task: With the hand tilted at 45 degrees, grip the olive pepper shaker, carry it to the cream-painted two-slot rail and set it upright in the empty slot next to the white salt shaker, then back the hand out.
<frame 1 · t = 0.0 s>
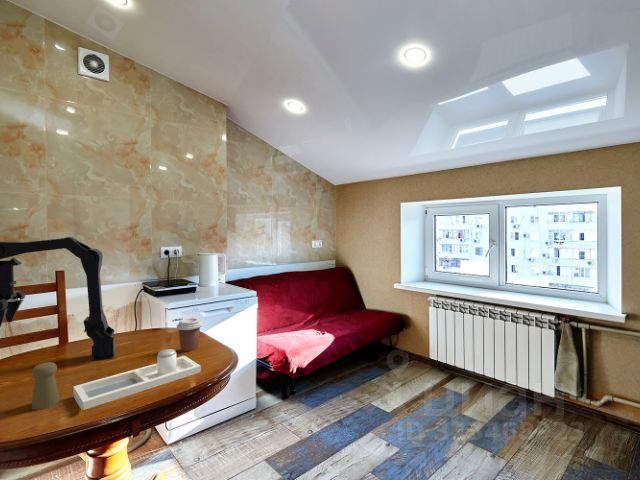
hand: (3, 325, 112), 15 cm above the table, tool pointing down, fingers open, 9 cm apart
olive pepper shaker: (45, 404, 92), on the table
salt shaker: (167, 374, 108), point 1 cm above the table, touching condiment rail
condiment rail: (141, 385, 103), on the table
coffee cup: (189, 351, 131), on the table
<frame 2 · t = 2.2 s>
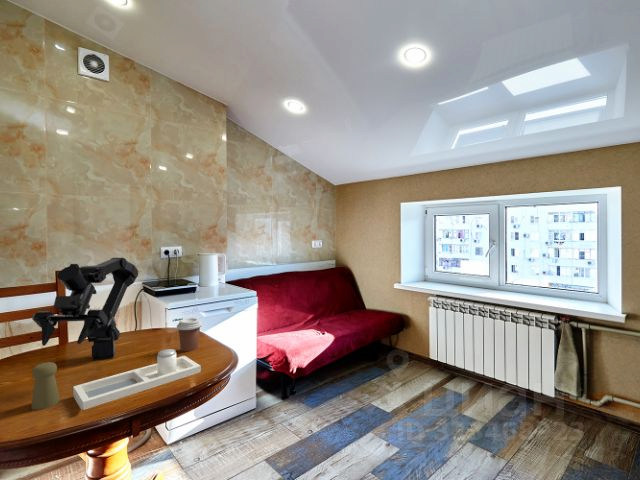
hand: (61, 344, 99), 13 cm above the table, tool tilted 45°, fingers open, 9 cm apart
nothing on the table moved.
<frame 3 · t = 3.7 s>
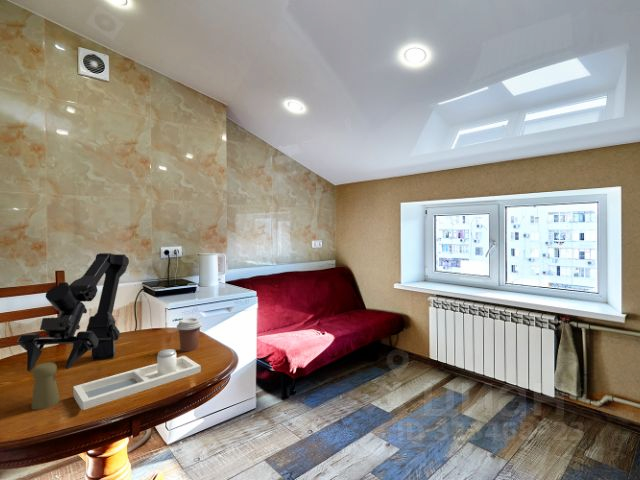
hand: (47, 369, 93), 9 cm above the table, tool tilted 45°, fingers open, 9 cm apart
nothing on the table moved.
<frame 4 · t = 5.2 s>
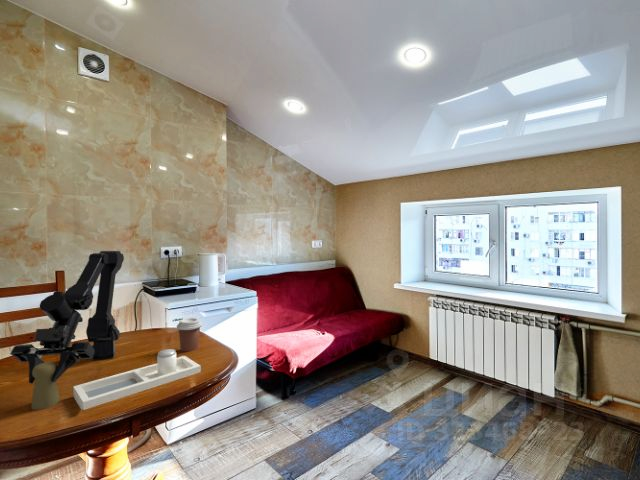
hand: (41, 382, 90), 7 cm above the table, tool tilted 45°, fingers closed on olive pepper shaker, 5 cm apart
olive pepper shaker: (45, 404, 92), on the table, touching gripper
everything else where it was.
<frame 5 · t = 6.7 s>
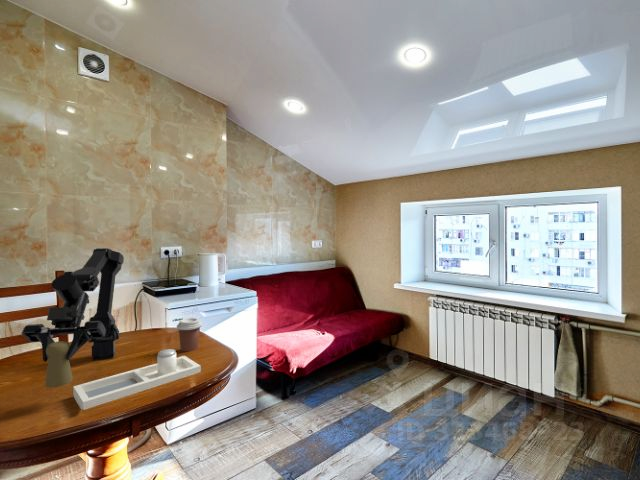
hand: (56, 360, 91), 12 cm above the table, tool tilted 45°, fingers closed on olive pepper shaker, 5 cm apart
olive pepper shaker: (59, 382, 92), point 5 cm above the table, touching gripper
everything else where it was.
when the fingers open (9 cm above the table, at t = 8.7 s): olive pepper shaker drops 1 cm, resting on condiment rail.
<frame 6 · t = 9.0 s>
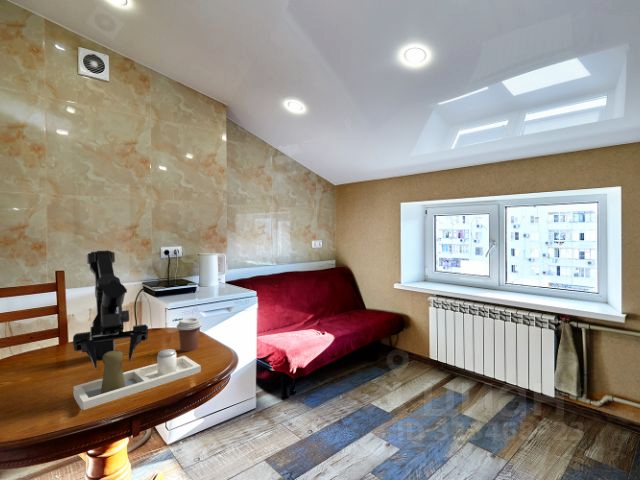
hand: (113, 364, 96), 9 cm above the table, tool tilted 45°, fingers open, 8 cm apart
olive pepper shaker: (113, 390, 98), point 1 cm above the table, touching condiment rail
everything else where it was.
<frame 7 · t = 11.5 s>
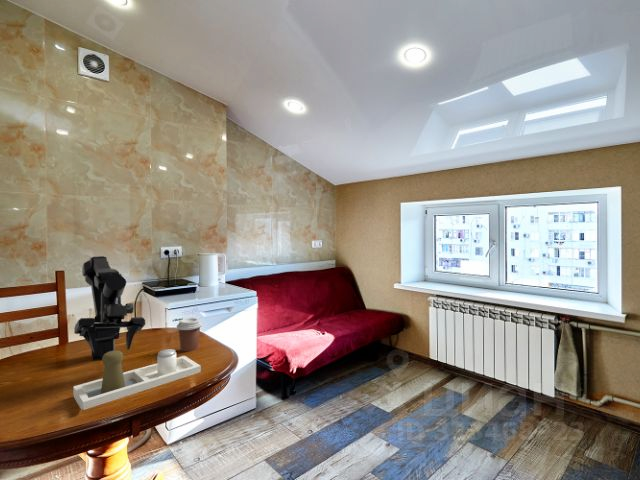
hand: (111, 351, 105), 10 cm above the table, tool tilted 40°, fingers open, 9 cm apart
nothing on the table moved.
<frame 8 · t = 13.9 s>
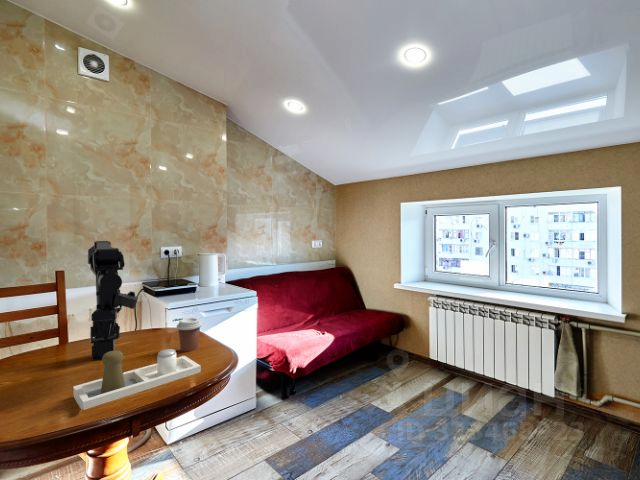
hand: (108, 335, 109), 13 cm above the table, tool pointing down, fingers open, 9 cm apart
nothing on the table moved.
at the end: olive pepper shaker 0.2 cm from the target spot, point 1.0 cm above the table; olive pepper shaker tilted 0°; the gripper is holding nothing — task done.
